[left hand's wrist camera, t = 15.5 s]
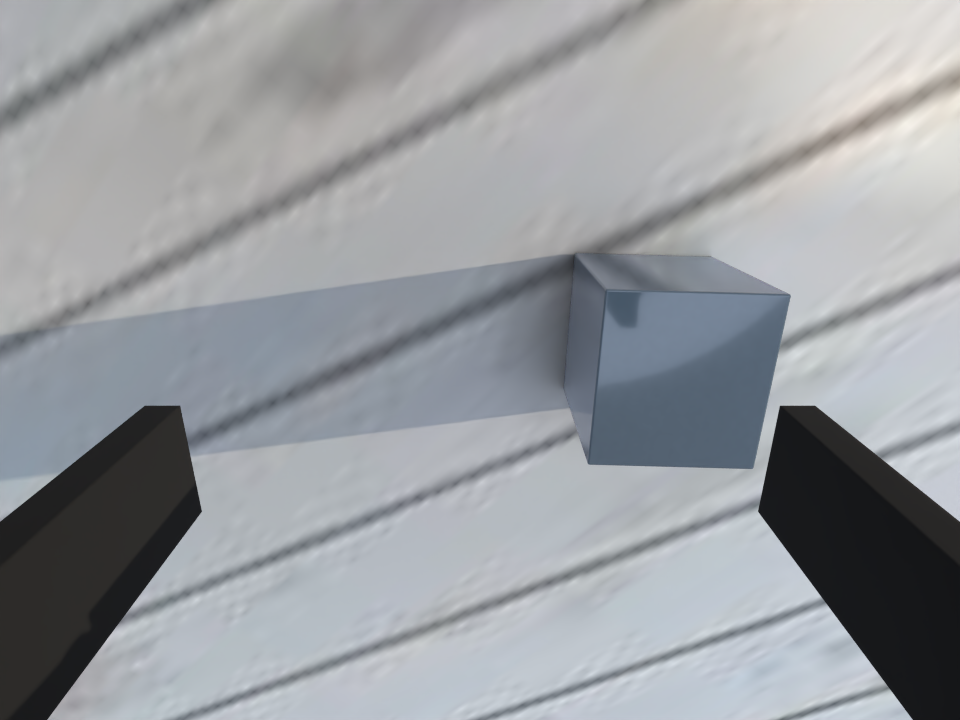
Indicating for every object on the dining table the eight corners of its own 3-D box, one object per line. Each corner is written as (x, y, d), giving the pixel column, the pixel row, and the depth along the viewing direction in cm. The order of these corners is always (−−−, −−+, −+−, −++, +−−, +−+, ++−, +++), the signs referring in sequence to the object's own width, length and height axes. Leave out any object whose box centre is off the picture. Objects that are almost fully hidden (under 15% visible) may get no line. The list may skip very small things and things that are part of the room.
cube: (689, 393, 28) (753, 469, 21) (563, 389, 28) (587, 465, 21) (712, 256, 26) (791, 294, 19) (574, 252, 26) (605, 289, 19)
